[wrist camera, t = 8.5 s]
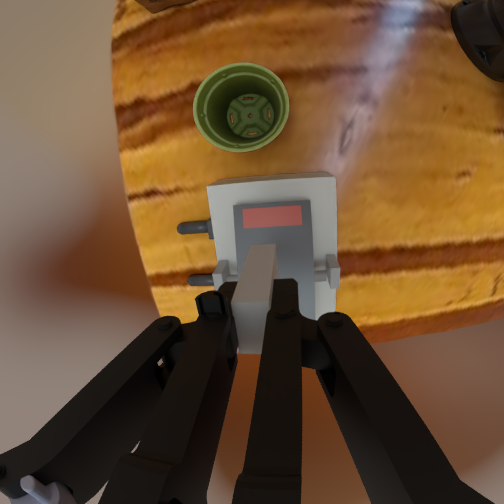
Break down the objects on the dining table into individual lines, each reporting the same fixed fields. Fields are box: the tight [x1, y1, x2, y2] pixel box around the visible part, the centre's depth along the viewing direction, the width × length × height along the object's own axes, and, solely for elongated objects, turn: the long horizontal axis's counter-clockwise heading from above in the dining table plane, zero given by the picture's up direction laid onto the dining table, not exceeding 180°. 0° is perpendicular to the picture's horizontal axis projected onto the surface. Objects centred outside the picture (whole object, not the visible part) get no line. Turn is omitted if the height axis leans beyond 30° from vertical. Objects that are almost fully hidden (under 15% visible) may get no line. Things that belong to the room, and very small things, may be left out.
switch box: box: [177, 172, 340, 320], centre depth 34 cm, size 21×20×10 cm
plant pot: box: [193, 63, 289, 152], centre depth 28 cm, size 9×9×9 cm
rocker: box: [227, 200, 327, 320], centre depth 30 cm, size 11×16×2 cm, turn 6°
